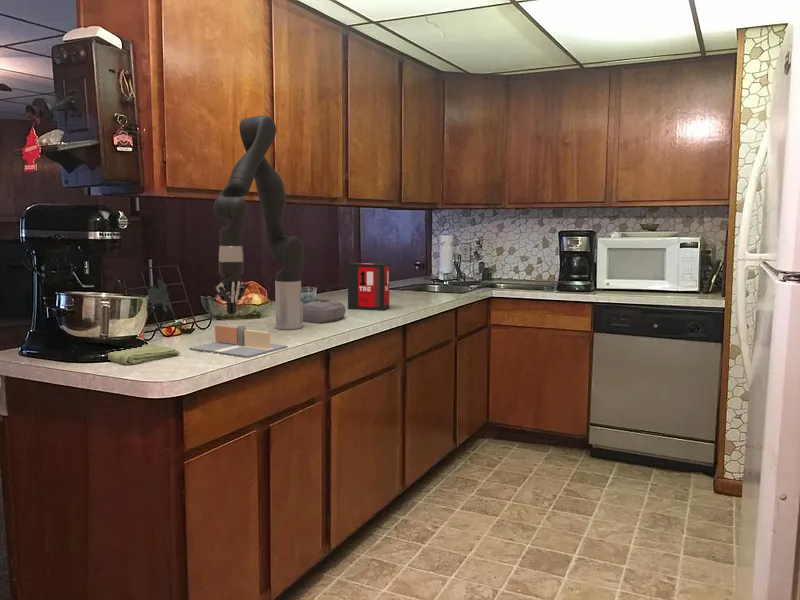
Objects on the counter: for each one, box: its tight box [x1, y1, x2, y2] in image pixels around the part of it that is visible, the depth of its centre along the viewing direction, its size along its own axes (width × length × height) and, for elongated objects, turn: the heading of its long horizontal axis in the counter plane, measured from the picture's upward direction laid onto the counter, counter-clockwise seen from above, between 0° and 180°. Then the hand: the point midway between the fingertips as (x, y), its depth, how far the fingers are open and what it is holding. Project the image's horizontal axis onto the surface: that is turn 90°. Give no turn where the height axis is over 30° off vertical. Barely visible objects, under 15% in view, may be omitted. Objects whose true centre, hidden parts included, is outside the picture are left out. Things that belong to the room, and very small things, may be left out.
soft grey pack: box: [303, 298, 346, 324], centre depth 259 cm, size 15×8×20 cm
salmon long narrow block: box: [214, 324, 238, 344], centre depth 204 cm, size 9×1×5 cm, turn 62°
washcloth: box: [108, 343, 181, 366], centre depth 186 cm, size 13×18×3 cm
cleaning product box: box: [347, 262, 391, 312], centre depth 290 cm, size 16×9×20 cm, turn 76°
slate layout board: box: [188, 325, 288, 359], centre depth 200 cm, size 18×23×6 cm
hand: (231, 314), depth 210 cm, fingers closed
